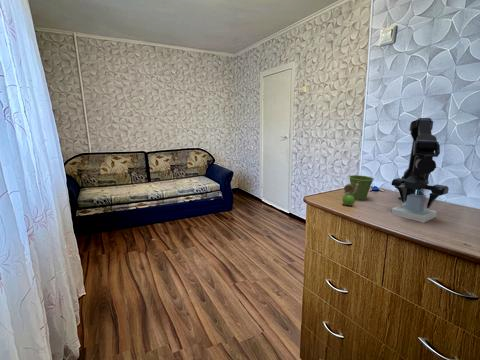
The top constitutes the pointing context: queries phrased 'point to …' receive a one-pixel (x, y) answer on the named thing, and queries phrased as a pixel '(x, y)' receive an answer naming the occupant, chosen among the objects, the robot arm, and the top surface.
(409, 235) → the top surface
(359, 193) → the plant pot
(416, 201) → the block
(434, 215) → the base
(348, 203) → the snail figurine
